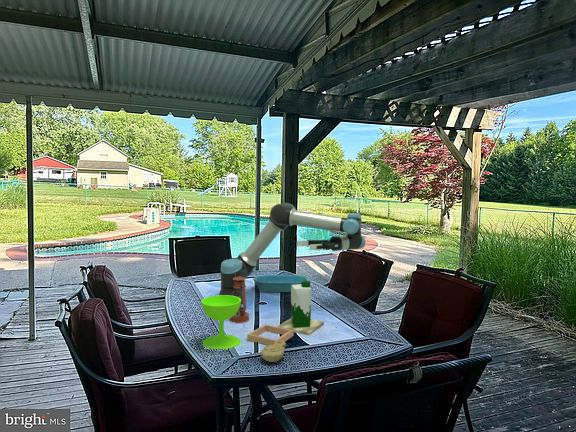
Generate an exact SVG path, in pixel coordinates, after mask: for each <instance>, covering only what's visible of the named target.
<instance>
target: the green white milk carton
mask: <svg viewBox="0 0 576 432" xmlns="http://www.w3.org/2000/svg"><path fill="white" fill-rule="evenodd" d="M311 316H312V287H311V281H302V282H301V284H297V285H292V287H291V292H290V318H291V319H292V324H293V325H294V327H295V328H299V327H310V320H312V319H311Z"/></svg>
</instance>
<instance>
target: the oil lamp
mask: <svg viewBox="0 0 576 432" xmlns="http://www.w3.org/2000/svg"><path fill="white" fill-rule="evenodd" d="M273 344H274V345H265V346H264V347H263V348H262V349H261V350H260V357H261V358H262V359H264V360H265V361H266V362H267V361H269V362H276V361H278V362H279V361H280V360H281V359H282V358H283V357H284V354H285V350H286V349H285V348H286V346H287V343H286V341H285V342H284V341H277V342H274V343H273ZM269 362H268V363H269ZM276 363H277V362H276Z"/></svg>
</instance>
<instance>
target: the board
mask: <svg viewBox="0 0 576 432" xmlns="http://www.w3.org/2000/svg"><path fill="white" fill-rule="evenodd" d="M324 325H325V321H322V320H321V321H320V320H315V319H311V320H310V327H299V328H295V327H294V325H293V324H292V319H291V317H290V318H289V319H287V320H286V321H284V322H282V323H281V324H279V325H277V327H281V328H286V329H291V330H294V333H295V334H296V333H297V334H302V335H306V336H310V335H312V334H313V333H315V332H316V331H317V330H319V329H320V328H321V327H323V326H324Z"/></svg>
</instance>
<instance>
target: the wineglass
mask: <svg viewBox="0 0 576 432" xmlns="http://www.w3.org/2000/svg"><path fill="white" fill-rule="evenodd" d="M200 302H201V307H202V310H203V312H204V314H206V316H207V317H208V318H210V319H212V320H214V321H218V334H216V335H212V336H208V337H206V338H205V339H204V340H203V341H202V342H203V345H204V346H205V347H207V348H211V349H228V348H232V347H236V346H238V345H239V344H240V343H241V344H242V341H241V339H240V338H239V337H237V336H235V335H231V334H225V331H224V330H225V329H224V328H225V326H224V325H225V324H224V323H225V321H227V320H230V318H231V317H233V316H234V315H235V314H236V313H237V312H238V310H239V307H240V305H241V306H242V304H241V299H240V298H239V297H236V296H230V295H219V294H218V295H217V294H216V295H211V296H207V297H204V298H202V300H201V301H200Z"/></svg>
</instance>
